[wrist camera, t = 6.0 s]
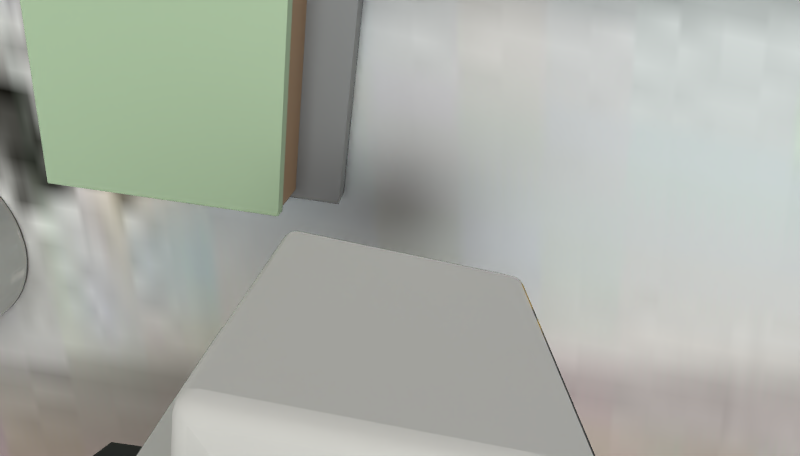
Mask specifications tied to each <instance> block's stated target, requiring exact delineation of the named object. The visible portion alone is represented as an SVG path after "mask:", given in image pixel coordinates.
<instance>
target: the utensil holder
mask: <svg viewBox="0 0 800 456" xmlns="http://www.w3.org/2000/svg"><path fill="white" fill-rule="evenodd" d="M26 272H27V256H26V249H25V245H24V241H23V238H22V235H21V232H20V229H19V227H18V225H17V223H16V221H15V219H14V217H13V215H12V213H11V212H10V210H9V209H8V207H7V206H6V204H5V203H4V202H3V200H2V199H1V198H0V316H1V315H2V314H4V313H5V312H6V311H7V310H8V309H9V308H11V306H12V305H13V304H14V303H15V302H16V300H17V299H18V297H19V296H20V294H21V291H22V289H23V286H24V283H25V278H26Z"/></svg>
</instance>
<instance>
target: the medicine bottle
mask: <svg viewBox="0 0 800 456" xmlns="http://www.w3.org/2000/svg"><path fill="white" fill-rule="evenodd" d="M171 456H595V454H594V452H593V450H592V447H591V445H590V442H589V440H588V438H587V435H586V433H585V431H584V428H583V426H582V424H581V421H580V419H579V416H578V414H577V412H576V409H575V407H574V405H573V402H572V400H571V397H570V395H569V393H568V390H567V388H566V386H565V383H564V381H563V378H562V376H561V374H560V371H559V369H558V367H557V364H556V362H555V359H554V357H553V355H552V352H551V350H550V348H549V345H548V343H547V341H546V338H545V336H544V333H543V331H542V329H541V326H540V324H539V322H538V319H537V317H536V314H535V312H534V310H533V307H532V305H531V303H530V300H529V298H528V295H527V293H526V291H525V288H524V286H523V284H522V283H521V281H520V280H519V279H518V278H516V277H514V276H510V275H505V274H501V273H496V272H491V271H486V270H481V269H477V268H472V267H467V266H462V265H458V264H453V263H448V262H443V261H438V260H434V259H429V258H424V257H419V256H415V255H410V254H405V253H400V252H395V251H391V250H386V249H381V248H376V247H372V246H367V245H362V244H357V243H352V242H348V241H343V240H338V239H333V238H329V237H324V236H319V235H314V234H309V233H305V232H300V231H293V232H290V233H289V234H287V235H286V236H285V237H284V238H283V240H282V241H281V243H280V244H279V246H278V247H277V249H276V250H275V252H274V253H273V255H272V256H271V258H270V259H269V261H268V262H267V263H266V265H265V266H264V268H263V269H262V271H261V272H260V274H259V275H258V277H257V278H256V280H255V281H254V283H253V284H252V286H251V287H250V289H249V290H248V292H247V293H246V295H245V296H244V297H243V299H242V300H241V302H240V303H239V305H238V306H237V308H236V309H235V311H234V312H233V314H232V315H231V317H230V318H229V320H228V321H227V323H226V324H225V326H224V327H223V329H222V330H221V332H220V333H219V334H218V336H217V337H216V339H215V340H214V342H213V343H212V345H211V346H210V348H209V349H208V351H207V352H206V354H205V355H204V357H203V358H202V360H201V361H200V363H199V364H198V366H197V367H196V368H195V370H194V371H193V373H192V374H191V376H190V377H189V379H188V380H187V382H186V383H185V385H184V386H183V388H182V389H181V391H180V392H179V394H178V396H177V398H176V401H175V404H174V407H173V411H172V439H171Z"/></svg>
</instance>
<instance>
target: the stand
mask: <svg viewBox="0 0 800 456" xmlns="http://www.w3.org/2000/svg"><path fill="white" fill-rule="evenodd" d="M20 4H21V10H22V17H23V23H24V30H25V37H26V43H27V50H28V56H29V63H30V69H31V76H32V82H33V89H34V95H35V102H36V109H37V115H38V122H39V128H40V135H41V141H42V148H43V154H44V161H45V167H46V174H47V180H48V183H52V184H59V185H65V186H72V187H79V188H86V189H93V190H100V191H107V192H114V193H121V194H127V195H134V196H141V197H148V198H155V199H162V200H169V201H176V202H183V203H190V204H196V205H203V206H210V207H217V208H224V209H231V210H238V211H245V212H252V213H259V214H265V215H272V216H279V214H280V213H281V212H282V206H283V205H284V203H285V202H286V201H287V200H288V198H289V197H294V198H301V199H308V200H315V201H322V202H329V203H335V204H339V202H340V199H341V197H342V195H343V193H344V183H345V173H346V163H347V153H348V143H349V134H350V124H351V114H352V104H353V94H354V84H355V74H356V65H357V55H358V45H359V35H360V25H361V15H362V6H363V0H20Z"/></svg>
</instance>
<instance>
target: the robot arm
mask: <svg viewBox="0 0 800 456" xmlns="http://www.w3.org/2000/svg"><path fill="white" fill-rule="evenodd" d="M222 329H223V327H222V328H221V329H220V331H219V333H220V332H221V330H222ZM219 333H218V334H219ZM218 334H217V336H218ZM217 336H216V337H217ZM216 337H215V339H216ZM215 339H214V340H215ZM214 340H213V342H214ZM213 342H212V343H213ZM212 343H211V345H212ZM211 345H210V346H211ZM210 346H209V348H210ZM209 348H208V349H209ZM208 349H207V351H208ZM207 351H206V352H207ZM206 352H205V354H206ZM205 354H204V355H205ZM204 355H203V357H204ZM203 357H202V358H203ZM202 358H201V360H202ZM201 360H200V361H201ZM200 361H199V363H200ZM199 363H198V364H199ZM198 364H197V366H198ZM197 366H196V367H197ZM196 367H195V368H196ZM194 370H195V369H194ZM194 370H193V371H194ZM192 373H193V372H192ZM192 373H191V374H192ZM190 376H191V375H190ZM190 376H189V377H190ZM188 379H189V378H188ZM188 379H187V380H188ZM186 382H187V381H186ZM186 382H185V383H186ZM184 385H185V384H184ZM184 385H183V386H184ZM182 388H183V387H182ZM182 388H181V389H182ZM180 391H181V390H180ZM180 391H179V392H180ZM178 394H179V393H178ZM178 394H177V396H178ZM177 396H176V397H175V399H174V400H173V402H172V403H171V405H170V406H169V408H168V409H167V411H166V412H165V414H164V415H163V417H162V418H161V420H160V421H159V423H158V424H157V426H156V427H155V429H154V430H153V432H152V433H151V435H150V436H149V438H148V439H147V441H146V442H145V444H144V445H143V447H141V446H134V445H127V444H120V443H113V442H111V443H110V444H108V445H107V446H106V447H104V448H103V449H102V450H100V451H99V452H98V453H96V454H95V455H94V456H171V439H172V411H173V407H174V404H175V401H176V398H177Z"/></svg>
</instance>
